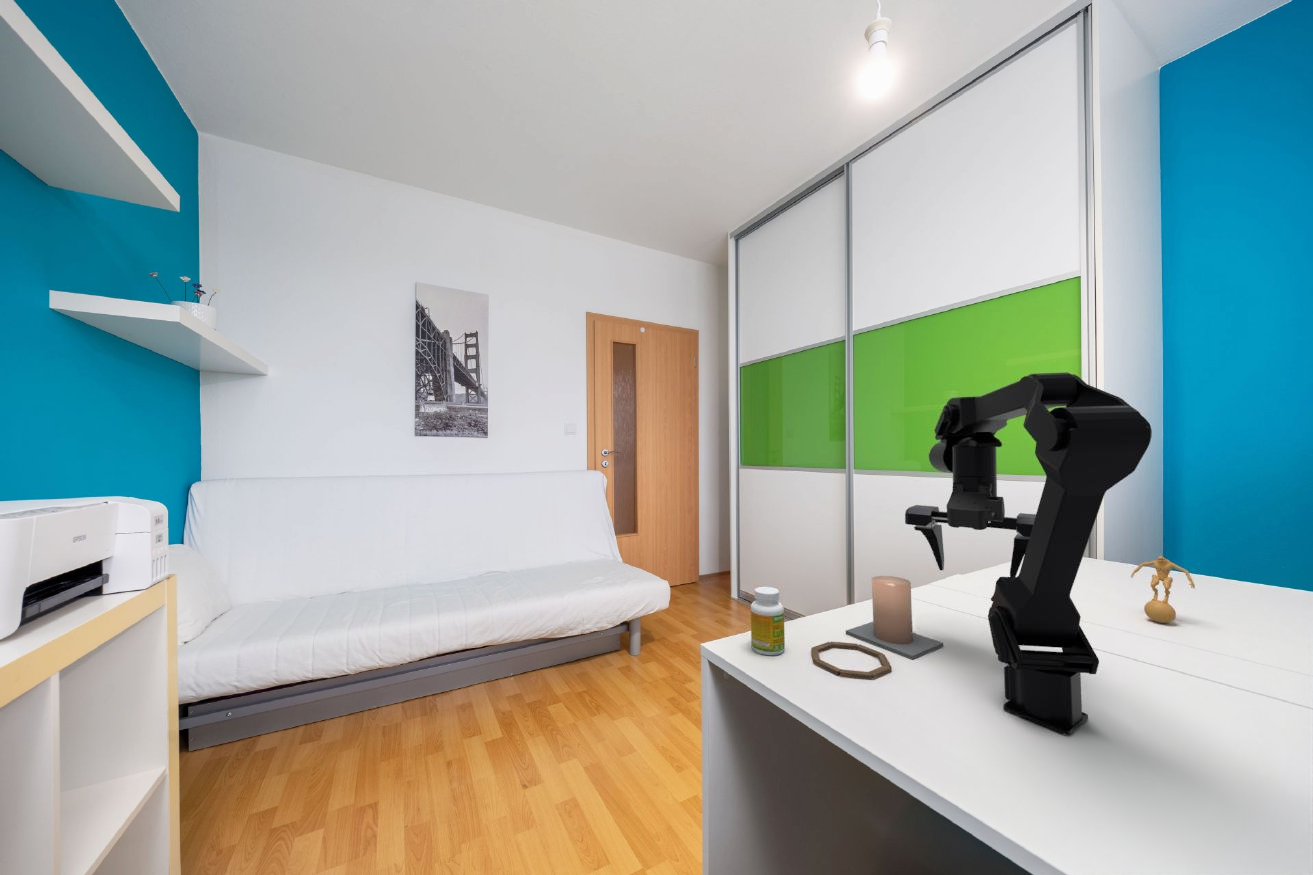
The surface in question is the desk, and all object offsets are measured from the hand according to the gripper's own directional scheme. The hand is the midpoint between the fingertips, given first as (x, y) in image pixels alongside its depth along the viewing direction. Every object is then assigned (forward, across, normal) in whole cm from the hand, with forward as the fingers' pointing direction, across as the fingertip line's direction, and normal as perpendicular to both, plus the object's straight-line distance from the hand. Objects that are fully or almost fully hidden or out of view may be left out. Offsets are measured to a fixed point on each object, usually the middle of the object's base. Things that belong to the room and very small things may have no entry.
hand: (975, 575), depth 72 cm
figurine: (+12, +23, +40) cm, 48 cm away
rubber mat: (+13, -12, -1) cm, 18 cm away
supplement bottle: (+14, -26, -18) cm, 35 cm away
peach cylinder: (+12, -12, -1) cm, 17 cm away
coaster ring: (+13, -14, -14) cm, 24 cm away
